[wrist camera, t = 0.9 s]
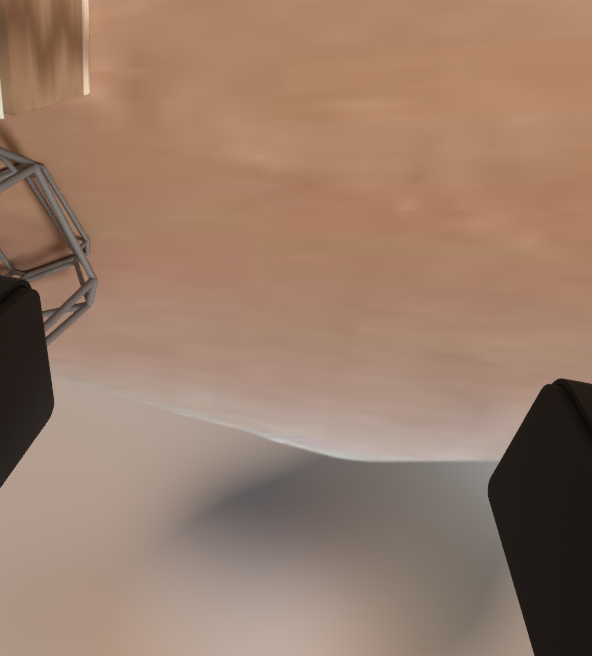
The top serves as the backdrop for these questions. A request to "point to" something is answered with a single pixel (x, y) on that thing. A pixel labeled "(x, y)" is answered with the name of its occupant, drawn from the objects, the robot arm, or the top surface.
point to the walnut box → (43, 53)
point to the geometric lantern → (29, 171)
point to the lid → (1, 105)
